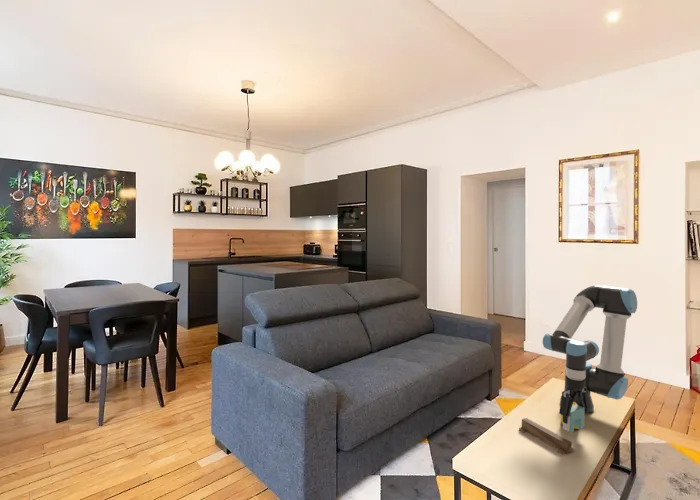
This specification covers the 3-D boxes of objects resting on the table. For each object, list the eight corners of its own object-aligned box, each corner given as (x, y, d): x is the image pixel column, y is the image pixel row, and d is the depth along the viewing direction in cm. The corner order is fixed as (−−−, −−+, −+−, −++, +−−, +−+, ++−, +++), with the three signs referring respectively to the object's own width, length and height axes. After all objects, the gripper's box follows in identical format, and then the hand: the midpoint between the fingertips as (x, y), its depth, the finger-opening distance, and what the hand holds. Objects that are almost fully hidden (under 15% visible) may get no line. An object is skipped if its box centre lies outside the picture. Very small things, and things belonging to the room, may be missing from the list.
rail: (529, 426, 179) (529, 417, 178) (574, 451, 159) (574, 441, 159) (518, 429, 176) (518, 420, 175) (563, 455, 156) (563, 445, 156)
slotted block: (576, 423, 171) (576, 404, 170) (583, 427, 168) (584, 407, 167) (562, 428, 167) (563, 408, 167) (570, 432, 164) (571, 412, 163)
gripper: (582, 369, 174) (580, 417, 176) (550, 378, 165) (548, 428, 166) (599, 375, 167) (597, 425, 169) (567, 385, 158) (565, 437, 160)
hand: (573, 427), depth 168 cm, fingers closed on slotted block, 9 cm apart
